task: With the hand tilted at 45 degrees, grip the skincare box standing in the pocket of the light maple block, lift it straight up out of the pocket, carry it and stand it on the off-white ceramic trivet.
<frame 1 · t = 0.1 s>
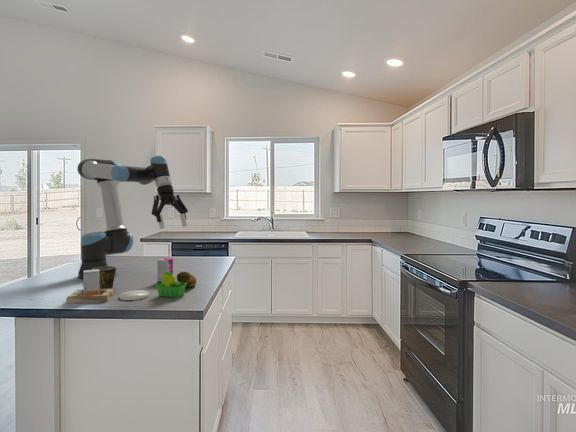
hand: (174, 227, 180), 28 cm above the countertop, tool tilted 20°, fingers open, 13 cm apart
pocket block: (91, 298, 155), on the countertop
fruit basket: (170, 296, 160), on the countertop
trivet: (134, 296, 158), on the countertop
supplement box: (165, 281, 186), on the countertop
potato: (187, 287, 175), on the countertop
ceramic cup: (104, 290, 169), on the countertop
skincare box: (91, 299, 155), resting in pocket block
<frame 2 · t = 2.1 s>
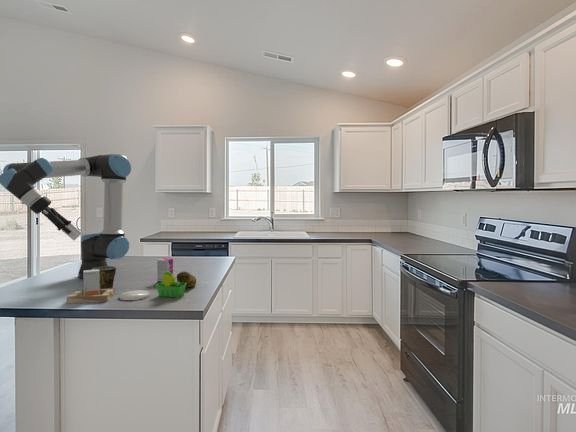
hand: (78, 236, 159), 25 cm above the countertop, tool tilted 45°, fingers open, 13 cm apart
nothing on the countertop moved.
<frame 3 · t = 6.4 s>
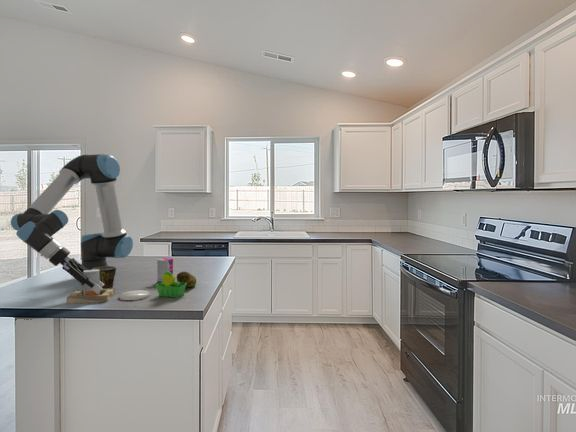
hand: (101, 289, 156), 4 cm above the countertop, tool tilted 45°, fingers open, 6 cm apart
nothing on the countertop moved.
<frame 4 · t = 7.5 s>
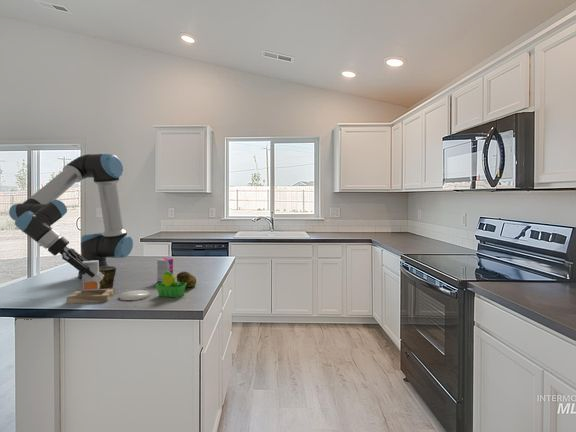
hand: (101, 279, 156), 8 cm above the countertop, tool tilted 45°, fingers closed on skincare box, 4 cm apart
skincare box: (91, 289, 154), point 4 cm above the countertop, touching gripper
everything else where it was.
when the fingers open (6 cm above the countertop, at t = 11.3 s): skincare box stays where it is, resting on trivet.
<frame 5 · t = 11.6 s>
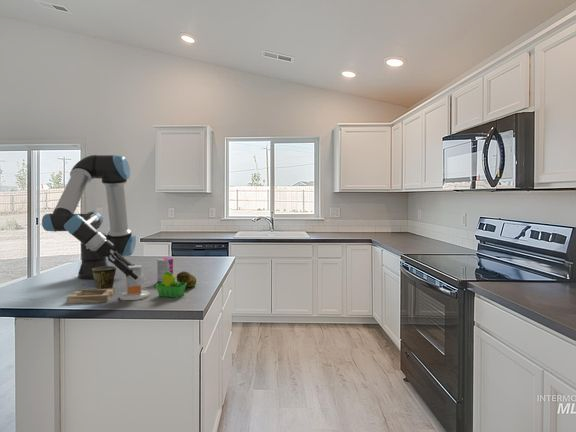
hand: (143, 281, 159), 7 cm above the countertop, tool tilted 45°, fingers open, 7 cm apart
skincare box: (134, 294, 158), point 1 cm above the countertop, touching trivet
everything else where it was.
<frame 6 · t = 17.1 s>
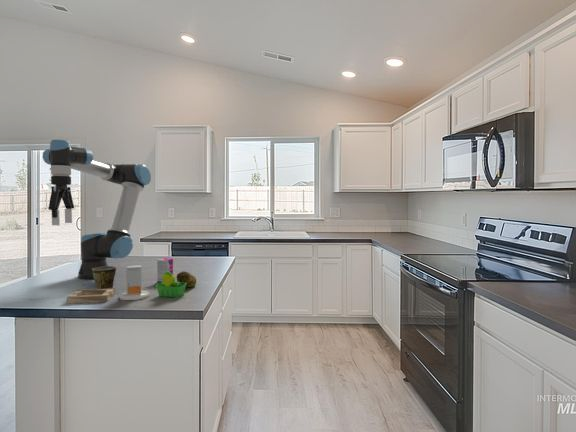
hand: (62, 224, 162), 31 cm above the countertop, tool pointing down, fingers open, 13 cm apart
nothing on the countertop moved.
at the end: skincare box inside the target area on the trivet (0.1 cm from its centre), point 1.0 cm above the trivet's base; skincare box tilted 0°; the gripper is holding nothing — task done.
